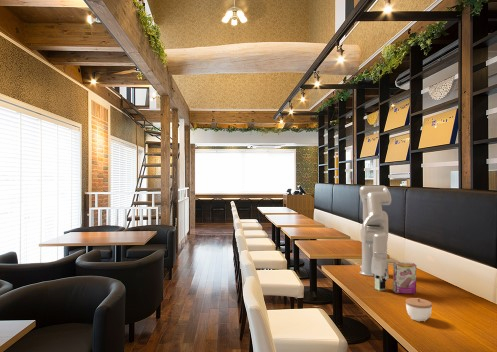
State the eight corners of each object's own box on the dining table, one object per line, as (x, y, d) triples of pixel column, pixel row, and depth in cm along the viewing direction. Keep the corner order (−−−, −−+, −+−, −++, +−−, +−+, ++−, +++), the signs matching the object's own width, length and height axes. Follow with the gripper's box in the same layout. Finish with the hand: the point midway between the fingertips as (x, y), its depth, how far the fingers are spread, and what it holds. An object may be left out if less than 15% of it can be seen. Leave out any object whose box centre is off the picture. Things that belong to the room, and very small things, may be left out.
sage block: (374, 288, 201) (374, 278, 201) (380, 288, 203) (380, 277, 203) (379, 290, 198) (379, 280, 198) (385, 290, 199) (385, 279, 199)
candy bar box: (395, 293, 193) (395, 264, 193) (392, 290, 198) (392, 261, 198) (416, 294, 192) (416, 264, 192) (413, 291, 197) (413, 262, 197)
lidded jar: (409, 312, 165) (409, 292, 165) (434, 318, 158) (434, 297, 158) (402, 319, 157) (402, 298, 157) (429, 325, 150) (428, 303, 150)
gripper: (365, 252, 207) (365, 283, 207) (384, 259, 191) (384, 292, 191) (376, 252, 209) (376, 282, 209) (395, 258, 193) (395, 291, 193)
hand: (380, 287), depth 200 cm, fingers closed on sage block, 3 cm apart
